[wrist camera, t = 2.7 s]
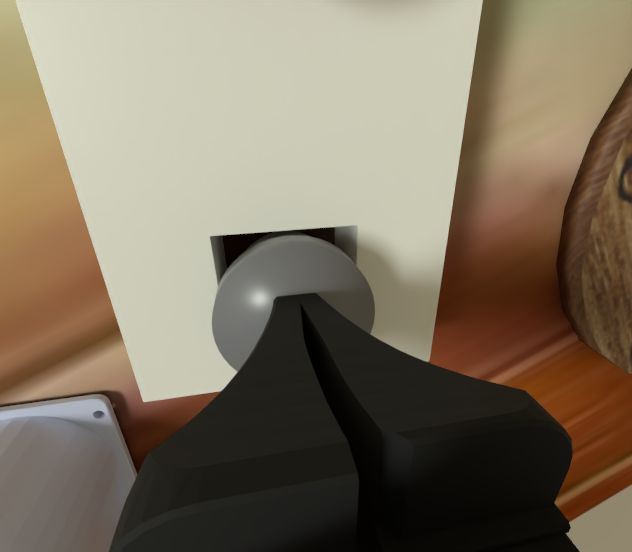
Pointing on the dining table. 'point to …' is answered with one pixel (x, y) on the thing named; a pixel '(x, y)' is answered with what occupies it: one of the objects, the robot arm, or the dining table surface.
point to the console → (255, 151)
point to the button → (284, 288)
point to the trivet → (601, 238)
